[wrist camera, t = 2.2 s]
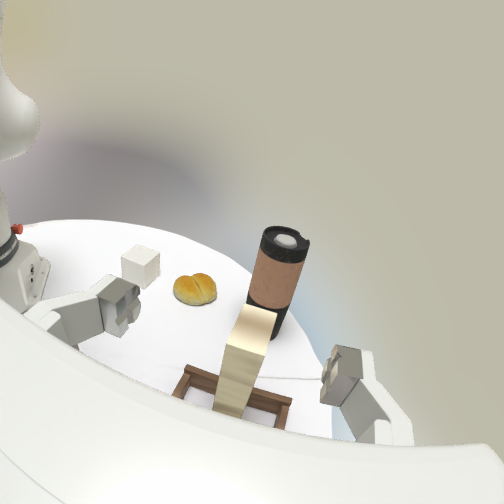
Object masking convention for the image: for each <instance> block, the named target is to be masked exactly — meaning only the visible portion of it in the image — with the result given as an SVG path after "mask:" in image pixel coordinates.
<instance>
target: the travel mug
mask: <svg viewBox="0 0 504 504" xmlns="http://www.w3.org/2000/svg"><path fill="white" fill-rule="evenodd" d="M309 246H310V241H309V240H305V239H304V238H303V237H301V235H300V233H299V232H298V231H296V230H294V229H291V228H288V227H283V226H271V227H268V228H266V229H265V230H264V232H263V235H262V239H261V243H260V247H259V252H258V255H257V259H256V263H255V267H254V271H253V275H252V279H251V283H250V287H249V291H248V296H247V301H246V304H248V305H252V306H255V307H258V308H261V309H264V310H268V311H271V312H274V313H277V317H276V320H275V324H274V327H273V330H272V334H271V337H270V340H272V339H274V338H275V337H276V336H277V334H278V332H279V329H280V327H281V325H282V322H283V320H284V317H285V315H286V313H287V310H288V307H289V305H290V302H291V300H292V297H293V294H294V291H295V288H296V285H297V282H298V280H299V277H300V274H301V271H302V267H303V264H304V261H305V258H306V255H307V252H308V249H309Z"/></svg>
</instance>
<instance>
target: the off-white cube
mask: <svg viewBox="0 0 504 504" xmlns="http://www.w3.org/2000/svg"><path fill="white" fill-rule="evenodd" d="M159 263H160V253H159V252H156V251H154V250H151V249H148V248H146V247H143V246H141V245H138V244H137V245H136V246H135V247H133V248H132V249H130V250H129V251H128V252H126V253H125V254H124V255H122V256H121V265H122V279H124V280H126V281H129V282H131V283H134V284H136V285H138V286H139V287H140V288H142V289H145V288H147V287H148V286H149V285H150V284H151V283H152V282H153V281H154V280H155V279H156V278H157V277H158V276H159Z"/></svg>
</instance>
